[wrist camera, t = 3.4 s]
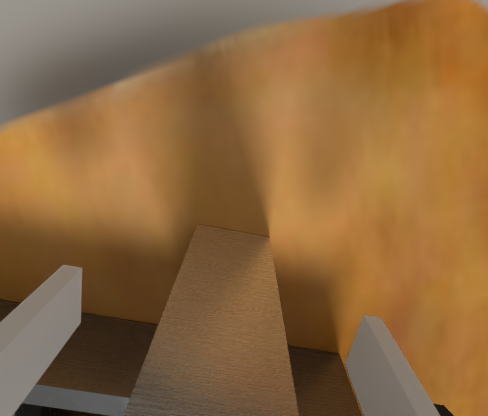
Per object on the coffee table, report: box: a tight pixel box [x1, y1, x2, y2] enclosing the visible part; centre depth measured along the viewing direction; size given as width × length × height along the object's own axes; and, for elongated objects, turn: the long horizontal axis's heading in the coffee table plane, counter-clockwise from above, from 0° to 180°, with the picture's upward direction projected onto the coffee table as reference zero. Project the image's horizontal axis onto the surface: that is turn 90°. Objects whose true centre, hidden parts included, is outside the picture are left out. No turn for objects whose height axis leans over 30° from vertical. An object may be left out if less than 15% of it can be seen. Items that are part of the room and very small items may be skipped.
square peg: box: [123, 224, 299, 416], centre depth 11 cm, size 4×4×14 cm
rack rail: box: [0, 300, 362, 416], centre depth 18 cm, size 8×28×5 cm, turn 79°
